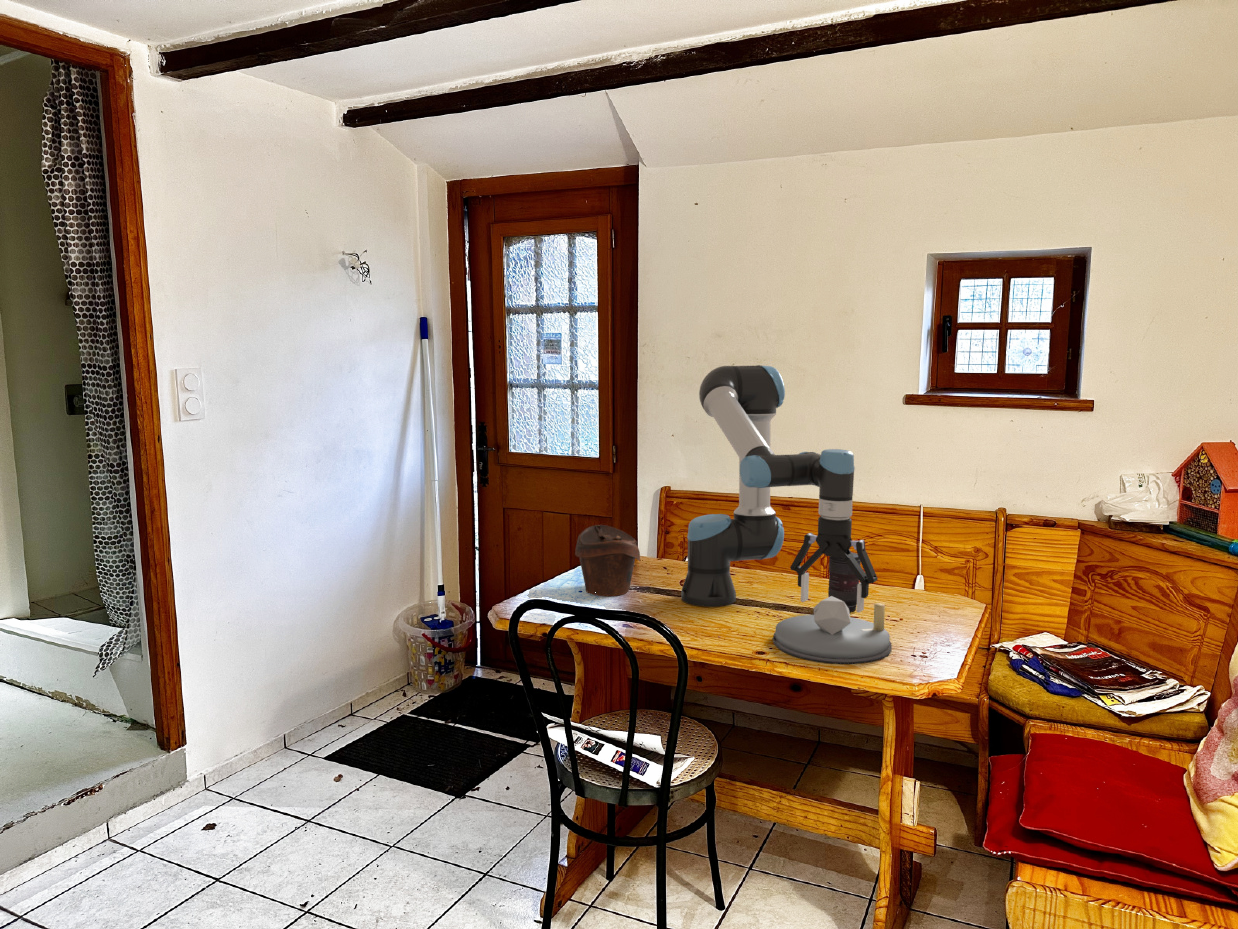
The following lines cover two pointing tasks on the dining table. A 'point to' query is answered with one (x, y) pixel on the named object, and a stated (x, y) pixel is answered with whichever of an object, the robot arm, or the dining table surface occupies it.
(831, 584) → the camera lens
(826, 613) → the die
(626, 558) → the brown tapered cup shape
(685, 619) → the dining table surface
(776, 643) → the turntable base
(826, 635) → the turntable
